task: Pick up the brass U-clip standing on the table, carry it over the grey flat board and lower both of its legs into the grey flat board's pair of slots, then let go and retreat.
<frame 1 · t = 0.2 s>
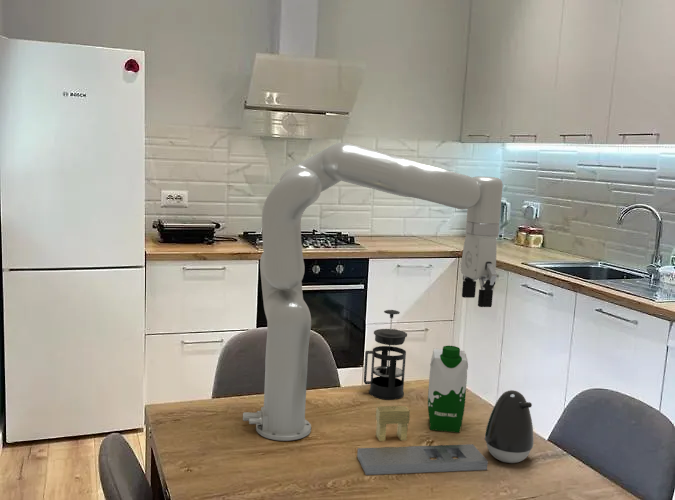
hand: (476, 301, 159), 31 cm above the table, tool pointing down, fingers open, 9 cm apart
milk carton: (444, 426, 163), on the table
pump dispenser: (507, 458, 147), on the table
clip: (391, 437, 154), on the table
grey flat board: (421, 463, 142), on the table
french press: (384, 394, 182), on the table
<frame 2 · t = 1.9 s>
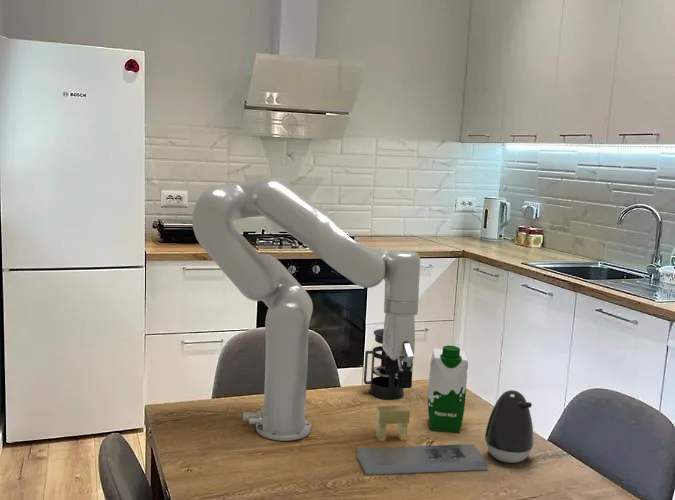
hand: (397, 380, 152), 14 cm above the table, tool pointing down, fingers open, 9 cm apart
nothing on the table moved.
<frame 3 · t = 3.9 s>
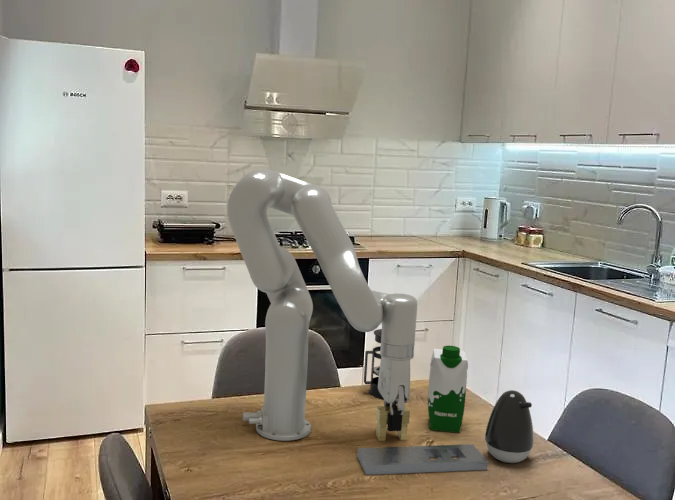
hand: (391, 426, 154), 3 cm above the table, tool pointing down, fingers closed on clip, 3 cm apart
clip: (391, 437, 154), on the table, touching gripper
everything else where it was.
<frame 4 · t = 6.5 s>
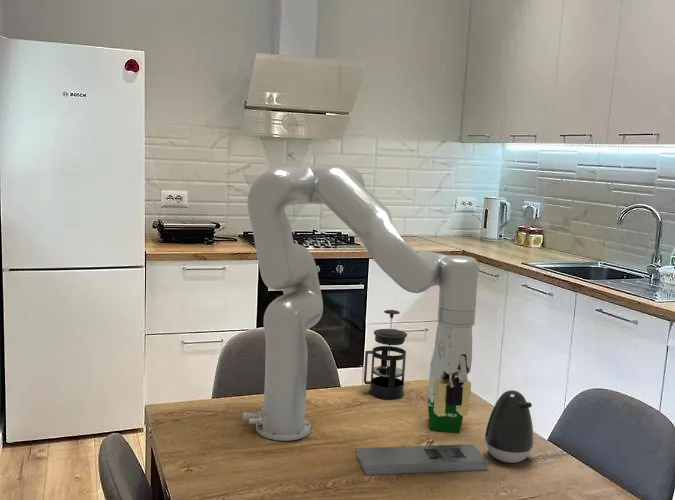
hand: (450, 401, 141), 14 cm above the table, tool pointing down, fingers closed on clip, 3 cm apart
clip: (450, 413, 141), point 11 cm above the table, touching gripper
everything else where it was.
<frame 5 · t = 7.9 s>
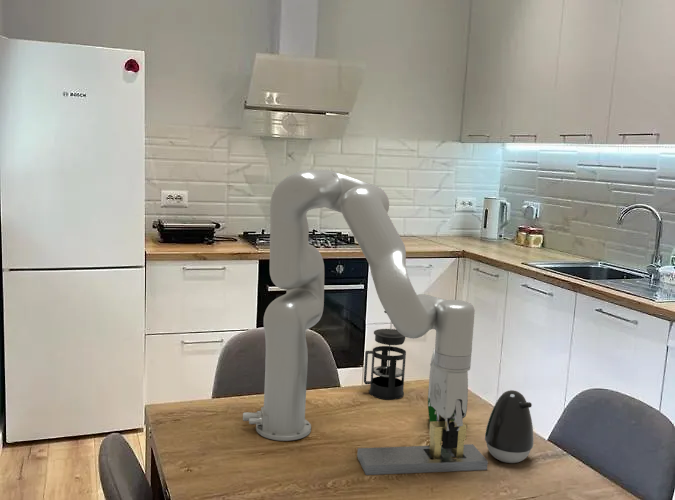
hand: (446, 443, 142), 4 cm above the table, tool pointing down, fingers closed on clip, 3 cm apart
clip: (445, 455, 143), point 2 cm above the table, touching gripper
everything else where it was.
when the fingers open (3 cm above the table, at t = 9.0 s): clip stays where it is, on the table.
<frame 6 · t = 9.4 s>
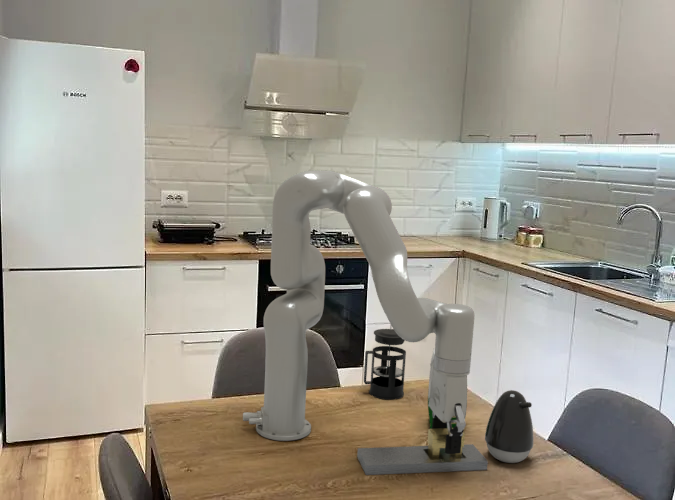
hand: (445, 443, 142), 4 cm above the table, tool pointing down, fingers open, 7 cm apart
clip: (443, 462, 143), on the table
everything else where it was.
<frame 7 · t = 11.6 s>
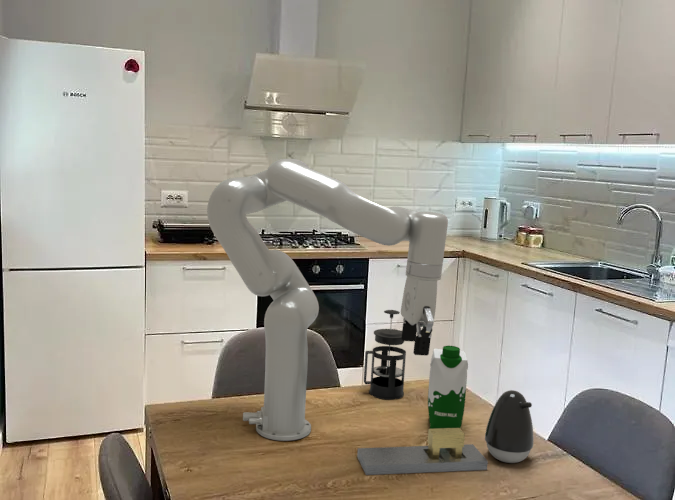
hand: (414, 347, 146), 23 cm above the table, tool pointing down, fingers open, 9 cm apart
nothing on the table moved.
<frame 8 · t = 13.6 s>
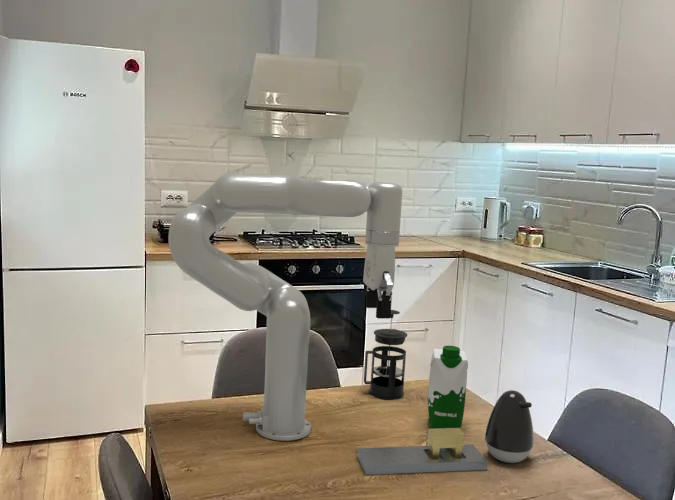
hand: (377, 312, 153), 28 cm above the table, tool pointing down, fingers open, 9 cm apart
nothing on the table moved.
at the end: clip 0.0 cm from the target spot on the grey flat board, point 0.0 cm above the grey flat board's base; clip tilted 0°; the gripper is holding nothing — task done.
